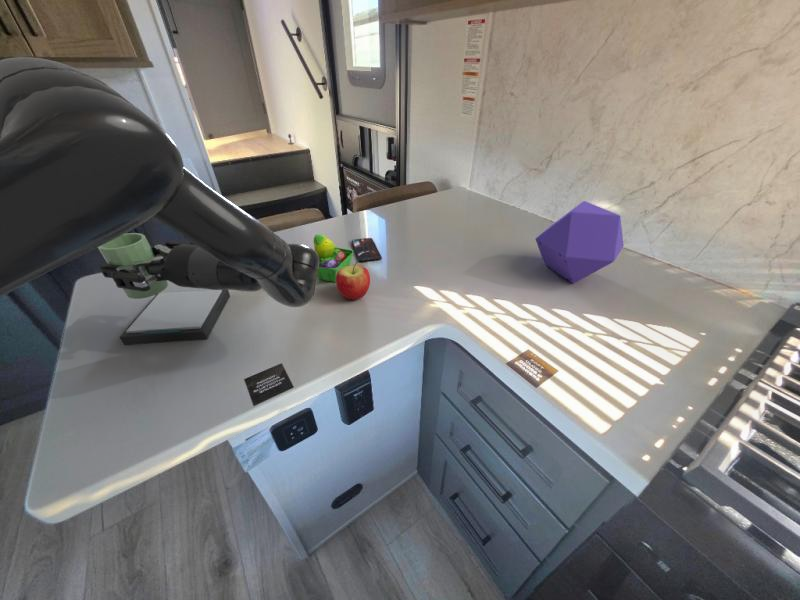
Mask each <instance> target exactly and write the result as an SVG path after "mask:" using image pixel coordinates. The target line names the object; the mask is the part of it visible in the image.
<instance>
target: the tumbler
mask: <svg viewBox="0 0 800 600" xmlns="http://www.w3.org/2000/svg"><path fill="white" fill-rule="evenodd" d="M150 246H151V245H150V243H149V241H148V239H147V237H146V235H144V233H139V232H127V233H126V234H124V235H122V236H120V237H118V238H116V239H114V240H111V241H109V242H107V243H105V244H103V245H101V246H99V247H97V249H98V251H99V252H100V253H101V254H100V255H102V257H103V258H104V260H105V263H106V264H111V265H121V266H125V265H132V264H133V263H134V262H135V261H140V260H147V259H152V258H153V257H154V256H155V255H154V253H153V251H152V249H151V247H150ZM141 268H142V269H143V271H144V273H145V274H146V275H149V274H148V272H147V270H146V268H145V266H141ZM128 272H129V273H132V274H136V273H135V271H134V270H129V271H128ZM149 286H150V288H151V289H150V290H148V291H137V290H130V289H124V288H122V291H123V292H124V293H125V295H126V296H127V297H128V298H130V299H132V300H133V299H135V300H141V299H146V298H147V299H148V298H151V297H153V296H154V297H155V296H156V294H158V293H160V292H164V291H165V290H166V289H167V288H168V286H169V281H168V280H164V281H154V282H152V283H150V284H149Z"/></svg>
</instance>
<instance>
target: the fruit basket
mask: <svg viewBox="0 0 800 600" xmlns="http://www.w3.org/2000/svg"><path fill="white" fill-rule="evenodd" d="M313 246H314V248H313V250H314V251H316V253H317V254H318V256H319V259H320V263H319V269H318V274H317V279H319V280H321V281H322V280H323V281H326V282H332V283H336V275H337V272H338V271H339V270H340V269H341V268H343V267H346V266H350V265H351V263H352V257H353V255H354V250H352V249H347V248H342V247H336V245H335V242H333V241H332V240H331V239H329V238H328V237H326V236H325V235H323V234H315V235H314V237H313Z"/></svg>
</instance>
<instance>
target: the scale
mask: <svg viewBox="0 0 800 600" xmlns="http://www.w3.org/2000/svg"><path fill="white" fill-rule="evenodd" d="M229 291H230V290H211V289H201V290H199V289H198V290H182V291H181V290H180V291H162V292H160V293H158V294H156V295H154V297H153V298H152V299H151V300H150V301H149V302H148V304H147V305H146V306H145V307H144V308H143V309H142V310H141V311H140V312H139V313H138V315H137V316H136V317H135V318H134V319H133V321H132V322H131V323H130V324H129V325H128V326H127V328H126V329H125V330H124V331H123V332H122V333H121V334H120V336H119V339H120V341H121V342H122V344H123V345H124V346H130V345H143V344H157V343H158V344H159V343H173V342H188V341H202V340H208V338H209V336H210V335H211V333H212V331H213V329H214V327H215V325H216V324H217V322H218V320H219V318H220V317H221V314H222V312H223V310H224V309H225V307H226V305H227V303H228V301H229V299H230V298H231V294H230V292H229Z"/></svg>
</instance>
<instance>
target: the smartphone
mask: <svg viewBox="0 0 800 600" xmlns="http://www.w3.org/2000/svg"><path fill="white" fill-rule="evenodd" d="M351 244H352V247H353V249H354V251H355V254H356V257H357V260H359V261H358V262H359V263H366V262H374V261H381V260H382V259H383V257H382V255H381V253H380V251H379V249H378V247H377V244H376V242H375V240H374V239H373V238H372V237H364V238H356V239H355V238H354V239H352V240H351Z"/></svg>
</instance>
